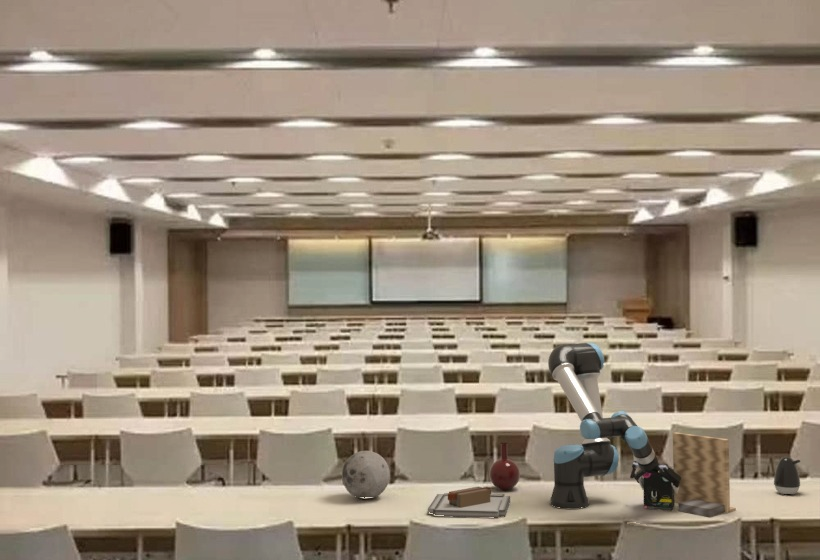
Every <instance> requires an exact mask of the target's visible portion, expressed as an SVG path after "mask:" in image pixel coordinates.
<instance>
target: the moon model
mask: <svg viewBox="0 0 820 560" xmlns="http://www.w3.org/2000/svg"><path fill="white" fill-rule="evenodd" d="M390 474H391V473H390V468H389V465H388V463H387V461H386V460H385V458H383V457H382V455H380V454H379V453H377V452H374V451H372V450H361V451H358V452H355V453H354V454H352V455H350V456H349V457H348V458H347V460H346V461H345V463H344V465H343V467H342V471H341V479H342V480H341V481H342V484H343V485H344V488H345V490H346V491H347V492H348V493H349V494H350V495H352V496H353V497H355V496H356V497H355V498H357V497H364V498H365V497H375V498H376V496H377V497H378V496H380V495H381V494H383V492H384V491H385V490H386V489H387V487H388V485H389V482H390V478H391V476H390Z"/></svg>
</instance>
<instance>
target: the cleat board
mask: <svg viewBox="0 0 820 560" xmlns="http://www.w3.org/2000/svg"><path fill="white" fill-rule="evenodd" d="M729 443H730V439H729V438H723V437H722V438H720V437H712V436H707V435H706V436H705V435H698V434H689V433H684V432H683V433H682V432H677V431H675V432H672V459H673V461H672V465H673V466H672V469H674V472H675V473H677V474H678V475H679V476H680V477H681V481H680V483H679V490H678V494H676V493H675V491H674V504H677V510H678V512H681V513H682V512H683V513H686V514H687V513H688V514H693V515H698V516H703V517H707V518H711V517H715V516H718V514H719V515H722V514H728V512H729V513H732V512H735V510H737V509H736V507H733V506H731V496H730V493H731V492H730V488H731V487H730V444H729ZM731 511H732V512H731ZM724 512H725V513H724Z"/></svg>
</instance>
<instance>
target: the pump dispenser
mask: <svg viewBox="0 0 820 560" xmlns="http://www.w3.org/2000/svg"><path fill="white" fill-rule="evenodd" d="M798 463H801V460H800V459H795V460H793V458H791V457H789V456H784V457H782V458H780V460H779V462H778V463H777V465H776V467H775V472H774V477H773V485H774V488H775V490H776V491H777V492H778V493H779V494H781V495H784V494H793V495H795V494H797V493H798V491H799V489H800V487H801V480H800V474H799V471H798V468H797V465H796V464H798Z"/></svg>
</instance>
